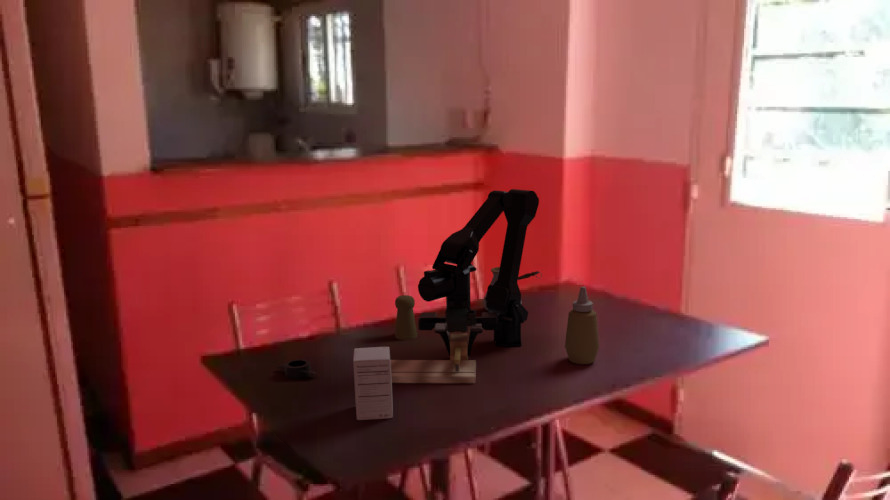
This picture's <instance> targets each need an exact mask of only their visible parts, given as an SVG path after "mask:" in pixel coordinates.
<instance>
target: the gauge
mask: <svg viewBox="0 0 890 500" xmlns="http://www.w3.org/2000/svg"><path fill="white" fill-rule="evenodd" d="M468 342H469V333H450V356H449V358H450V359H449V360H454V364H455V371H456V372H458V371H459V364H460V360H469V356H468Z"/></svg>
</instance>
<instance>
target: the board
mask: <svg viewBox="0 0 890 500" xmlns="http://www.w3.org/2000/svg"><path fill="white" fill-rule="evenodd" d="M390 361H391V378H392V384H476V375H477V374H476V372H477V371H476V370H477V360H476V359H473V360H471V359H468V360H460V364H459V371H458V372H456V371H455V364H454V360H450V359H402V360H401V359H390Z"/></svg>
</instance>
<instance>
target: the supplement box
mask: <svg viewBox="0 0 890 500" xmlns="http://www.w3.org/2000/svg"><path fill="white" fill-rule="evenodd" d="M390 349H391V348H390V346H376V347H375V346H373V347H359V348H356V347H355V348H354V349H353V358H352V361H353V364H352V365H353V378H354V395H355V397H354V399H355V410H356V411H355V413H356V420H358V421H365V420H369V421H370V420H383V419H393V417H394V407H393V406H394V403H393V383H392V378H391V361H390V360H391V351H390Z"/></svg>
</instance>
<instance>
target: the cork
mask: <svg viewBox="0 0 890 500" xmlns="http://www.w3.org/2000/svg"><path fill="white" fill-rule="evenodd" d="M415 304H416V303H415V298H414V297H413V296H412V295H409V294H408V295H407V294H405V295H400V296H397V297H396V298H395V301H394V305H395V308H396V320H395V330H394V331H395V332H394V338H395V339H396V340H400V341H408V340H409V341H410V340H414V339H416V338H417V337H418V330H417V325H416V320H415V312H414V307H415Z"/></svg>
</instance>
